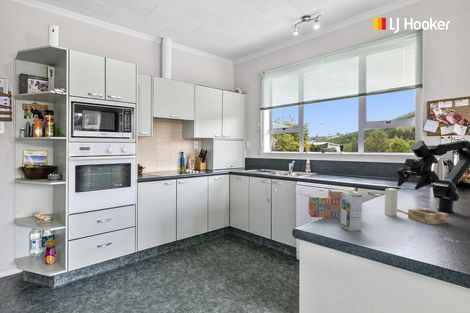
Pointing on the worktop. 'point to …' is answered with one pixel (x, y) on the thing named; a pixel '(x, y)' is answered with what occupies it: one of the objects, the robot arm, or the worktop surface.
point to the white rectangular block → (391, 202)
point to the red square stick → (402, 211)
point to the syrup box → (351, 210)
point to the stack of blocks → (326, 204)
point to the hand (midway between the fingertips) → (406, 187)
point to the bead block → (427, 216)
